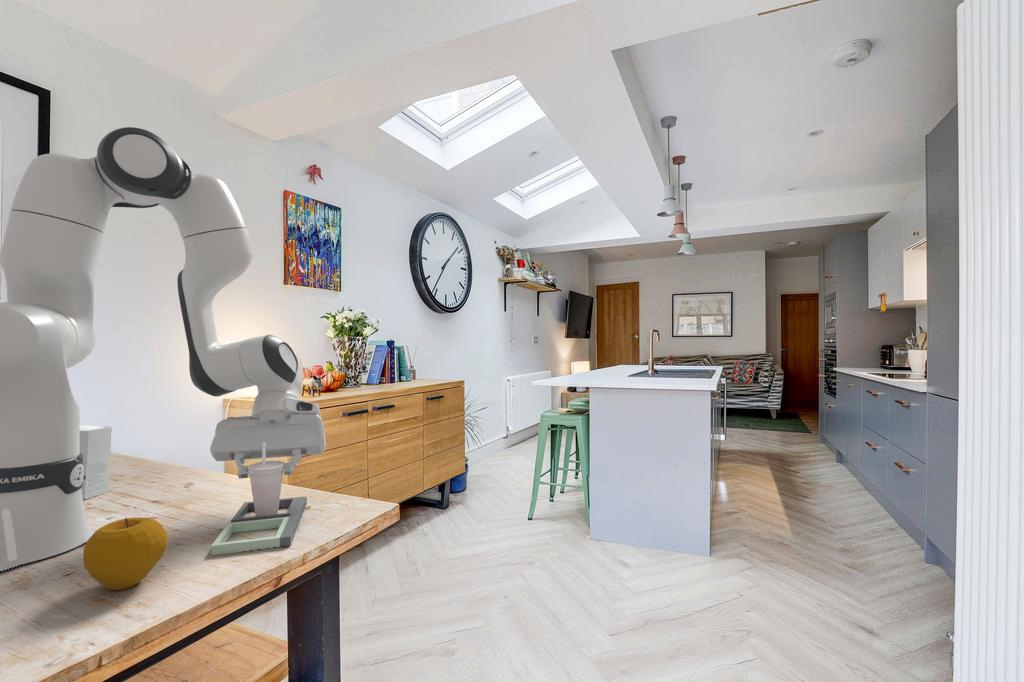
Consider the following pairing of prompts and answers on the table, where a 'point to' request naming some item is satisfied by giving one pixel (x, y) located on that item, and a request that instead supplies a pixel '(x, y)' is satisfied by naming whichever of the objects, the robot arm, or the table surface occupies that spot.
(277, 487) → the smoothie
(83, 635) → the table surface
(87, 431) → the skincare box
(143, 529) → the apple
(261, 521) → the rail
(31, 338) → the robot arm
